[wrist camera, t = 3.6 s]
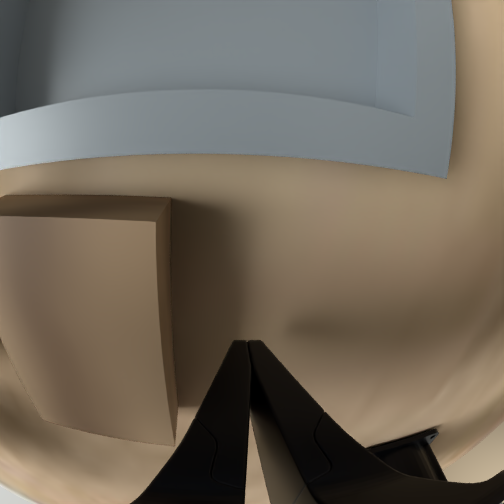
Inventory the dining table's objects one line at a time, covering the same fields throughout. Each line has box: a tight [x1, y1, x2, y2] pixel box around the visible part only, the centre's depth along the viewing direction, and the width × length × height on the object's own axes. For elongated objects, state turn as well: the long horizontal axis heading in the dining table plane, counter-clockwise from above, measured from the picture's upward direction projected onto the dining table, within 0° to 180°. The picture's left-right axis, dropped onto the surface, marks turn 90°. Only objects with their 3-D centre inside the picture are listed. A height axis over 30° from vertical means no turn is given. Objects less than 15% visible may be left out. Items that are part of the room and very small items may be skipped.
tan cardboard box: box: [0, 195, 178, 446], centre depth 9 cm, size 6×9×2 cm, turn 174°
